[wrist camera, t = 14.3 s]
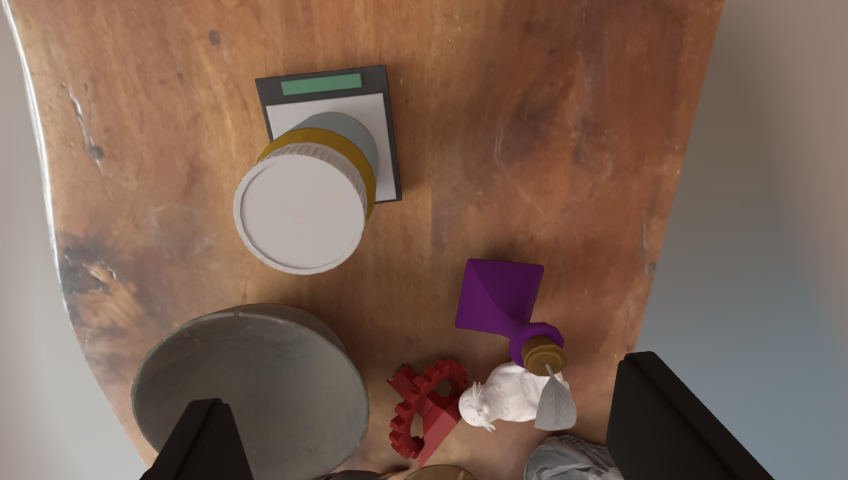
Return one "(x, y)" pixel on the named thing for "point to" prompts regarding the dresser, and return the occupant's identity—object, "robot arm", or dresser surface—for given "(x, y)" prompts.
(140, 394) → the bowl
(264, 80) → the scale
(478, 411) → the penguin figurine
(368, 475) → the fish
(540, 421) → the perfume bottle
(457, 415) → the red toothed curved piece
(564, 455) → the decorative stone
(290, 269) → the bottle
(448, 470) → the alarm clock
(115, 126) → the dresser surface
